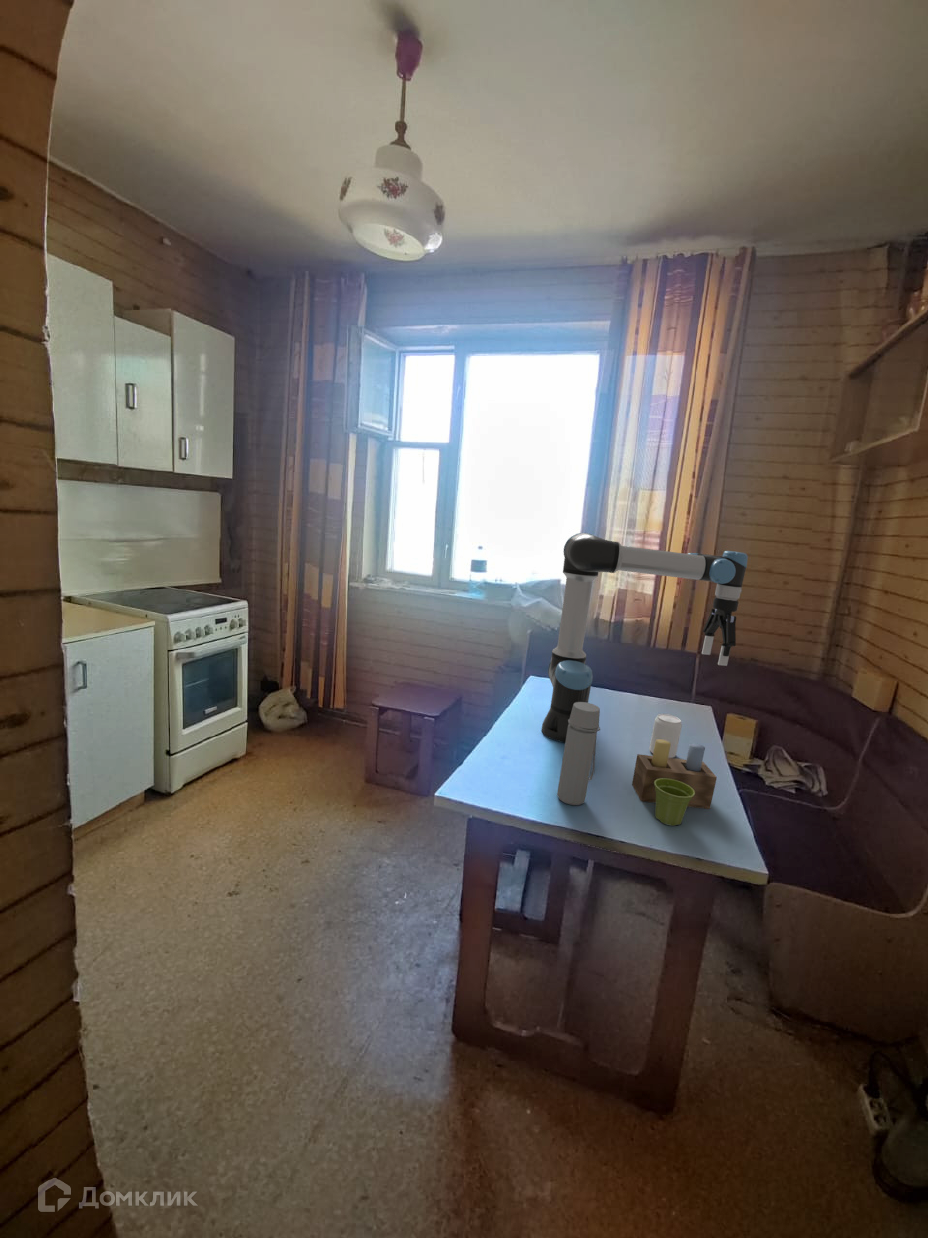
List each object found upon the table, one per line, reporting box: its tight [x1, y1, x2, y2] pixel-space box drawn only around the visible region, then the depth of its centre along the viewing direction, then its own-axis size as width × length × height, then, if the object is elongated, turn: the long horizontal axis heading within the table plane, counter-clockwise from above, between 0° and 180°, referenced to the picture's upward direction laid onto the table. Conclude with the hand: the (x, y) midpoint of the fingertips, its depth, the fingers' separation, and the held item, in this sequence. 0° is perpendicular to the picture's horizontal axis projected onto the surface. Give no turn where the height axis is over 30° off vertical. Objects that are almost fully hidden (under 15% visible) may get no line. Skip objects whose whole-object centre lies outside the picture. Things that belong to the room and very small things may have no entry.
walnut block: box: [631, 754, 717, 810], centre depth 152 cm, size 18×9×9 cm, turn 89°
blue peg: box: [685, 742, 706, 772], centre depth 151 cm, size 4×4×8 cm
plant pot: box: [654, 778, 695, 827], centre depth 141 cm, size 9×9×9 cm
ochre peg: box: [651, 739, 671, 768], centre depth 151 cm, size 4×4×8 cm
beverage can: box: [648, 713, 683, 758], centre depth 180 cm, size 8×8×12 cm
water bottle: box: [556, 702, 601, 806], centre depth 144 cm, size 9×8×25 cm
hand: (713, 659), depth 195 cm, fingers open, 13 cm apart
